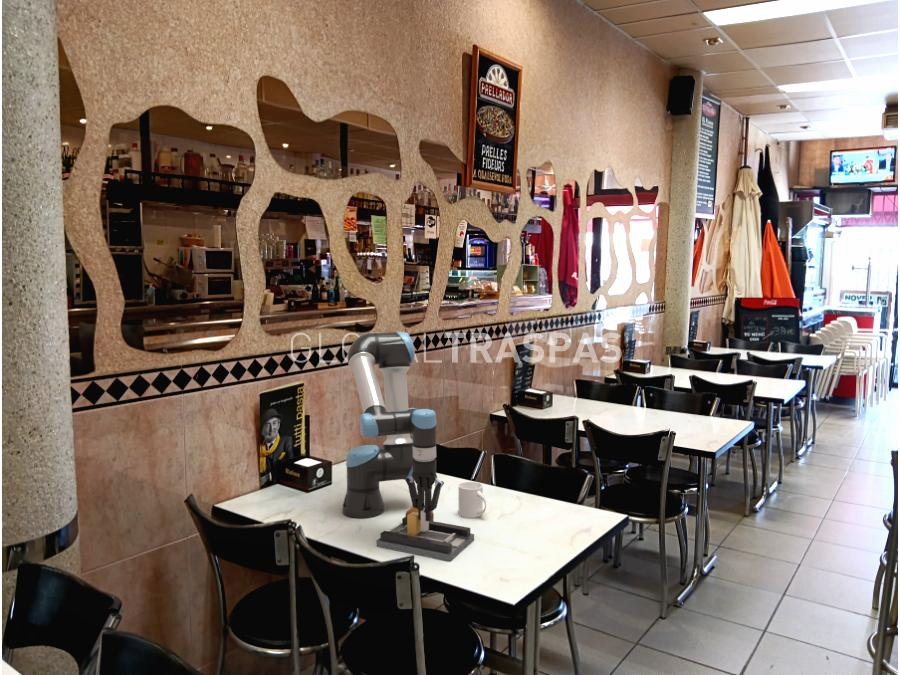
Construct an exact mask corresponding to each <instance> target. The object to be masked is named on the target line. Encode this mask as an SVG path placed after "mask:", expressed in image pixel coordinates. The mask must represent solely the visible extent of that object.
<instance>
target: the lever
mask: <svg viewBox="0 0 900 675" xmlns="http://www.w3.org/2000/svg"><path fill="white" fill-rule="evenodd" d="M421 533H422V531H421V520H419V518H418V513H417V512H412V513H410V514H409V515H407V534H410V535H415V536H418V535H420V534H421Z"/></svg>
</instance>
